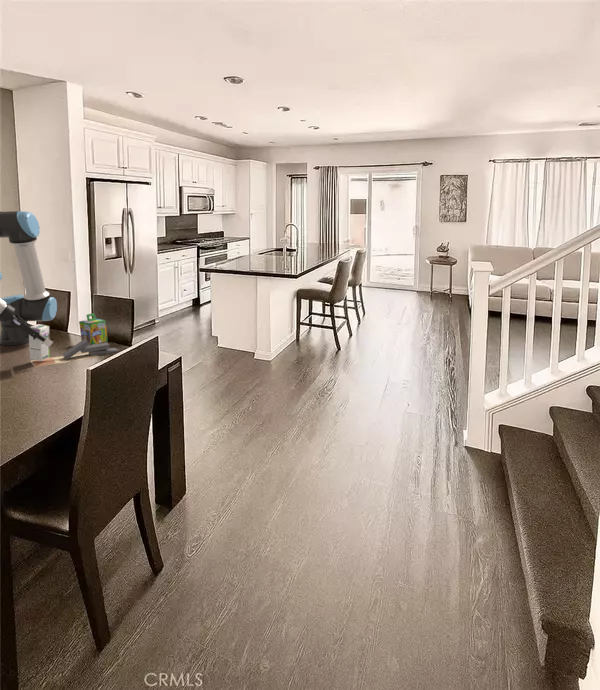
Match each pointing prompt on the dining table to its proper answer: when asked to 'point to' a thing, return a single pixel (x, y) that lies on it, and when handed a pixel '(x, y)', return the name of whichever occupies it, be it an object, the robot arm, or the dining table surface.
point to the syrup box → (39, 344)
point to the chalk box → (93, 330)
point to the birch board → (62, 359)
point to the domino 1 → (75, 349)
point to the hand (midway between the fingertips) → (49, 342)
